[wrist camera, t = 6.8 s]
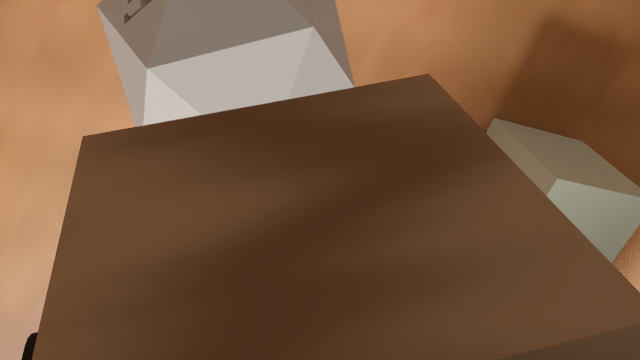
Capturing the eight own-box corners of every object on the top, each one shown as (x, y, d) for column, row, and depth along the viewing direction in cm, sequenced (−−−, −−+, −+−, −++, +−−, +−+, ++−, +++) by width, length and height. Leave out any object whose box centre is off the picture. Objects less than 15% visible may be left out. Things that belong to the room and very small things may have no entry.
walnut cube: (429, 73, 11) (662, 318, 6) (424, 310, 14) (569, 591, 9) (83, 136, 10) (3, 484, 5) (167, 371, 13) (172, 718, 8)
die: (310, -116, 23) (158, -162, 15) (417, 75, 24) (330, 134, 16) (174, -1, 27) (-6, 14, 19) (270, 160, 28) (137, 243, 20)
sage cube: (581, 140, 33) (656, 201, 28) (528, 226, 35) (587, 296, 30) (493, 117, 30) (557, 178, 26) (443, 211, 33) (492, 283, 28)
